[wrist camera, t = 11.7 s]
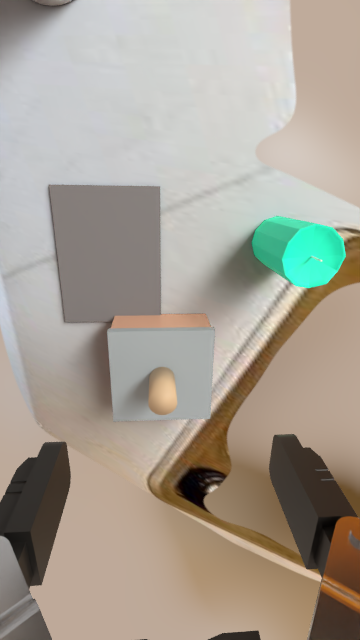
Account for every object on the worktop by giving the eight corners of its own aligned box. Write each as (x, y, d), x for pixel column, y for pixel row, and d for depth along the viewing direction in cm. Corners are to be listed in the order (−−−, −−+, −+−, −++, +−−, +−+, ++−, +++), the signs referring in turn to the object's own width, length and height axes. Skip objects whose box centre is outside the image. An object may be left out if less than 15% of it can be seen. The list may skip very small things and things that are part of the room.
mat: (50, 184, 36) (48, 184, 36) (159, 186, 37) (159, 186, 37) (65, 321, 42) (65, 322, 42) (160, 320, 43) (160, 321, 43)
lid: (108, 328, 38) (100, 352, 32) (213, 327, 38) (223, 350, 33) (114, 416, 42) (108, 451, 36) (208, 413, 43) (216, 446, 37)
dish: (115, 314, 42) (110, 329, 38) (205, 313, 43) (211, 328, 39) (119, 392, 47) (115, 414, 42) (202, 390, 47) (207, 412, 43)
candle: (242, 252, 41) (275, 275, 29) (268, 206, 39) (314, 212, 28) (282, 274, 42) (328, 304, 31) (309, 230, 40) (368, 245, 29)
